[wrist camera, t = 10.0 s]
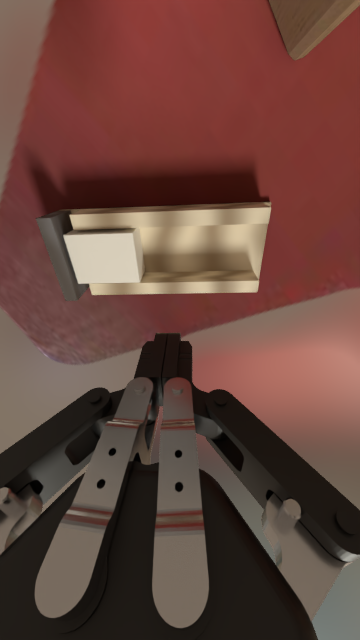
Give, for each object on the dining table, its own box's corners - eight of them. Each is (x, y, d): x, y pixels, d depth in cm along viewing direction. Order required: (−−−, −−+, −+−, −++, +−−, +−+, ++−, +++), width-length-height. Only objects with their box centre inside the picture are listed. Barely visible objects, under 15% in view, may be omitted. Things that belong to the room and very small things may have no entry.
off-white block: (139, 225, 29) (132, 233, 26) (145, 270, 32) (139, 282, 29) (77, 227, 30) (63, 235, 26) (89, 271, 33) (78, 283, 30)
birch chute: (269, 201, 28) (285, 209, 23) (257, 278, 33) (268, 297, 29) (60, 209, 29) (35, 218, 25) (82, 282, 35) (65, 300, 30)
